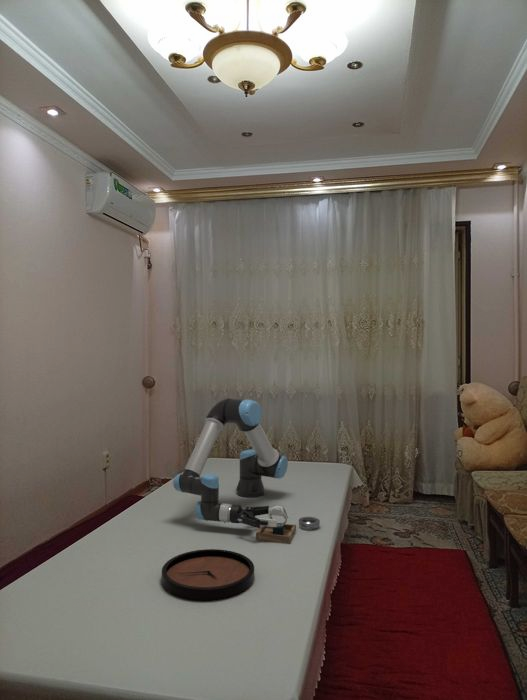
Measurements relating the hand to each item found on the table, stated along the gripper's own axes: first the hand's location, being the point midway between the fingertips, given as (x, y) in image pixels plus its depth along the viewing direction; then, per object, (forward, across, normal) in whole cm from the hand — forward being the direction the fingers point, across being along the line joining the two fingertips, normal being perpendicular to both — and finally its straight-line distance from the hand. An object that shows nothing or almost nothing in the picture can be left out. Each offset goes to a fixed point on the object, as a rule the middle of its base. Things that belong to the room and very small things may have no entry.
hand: (280, 518), depth 214 cm
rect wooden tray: (-1, 0, -8) cm, 8 cm away
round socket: (+10, -14, -8) cm, 19 cm away
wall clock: (-16, +44, -8) cm, 47 cm away
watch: (-1, -2, -7) cm, 8 cm away
